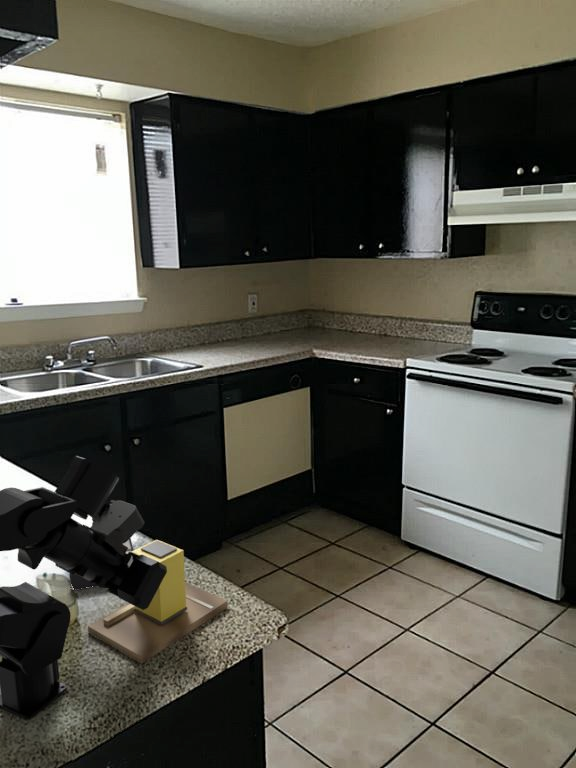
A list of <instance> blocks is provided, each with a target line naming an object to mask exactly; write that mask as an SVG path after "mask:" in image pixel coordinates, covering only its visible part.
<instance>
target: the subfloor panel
mask: <svg viewBox="0 0 576 768" xmlns="http://www.w3.org/2000/svg"><path fill="white" fill-rule="evenodd" d="M185 592H186V606H187V610H186V611H184V612H183V613H181V614H179V615H178V616H176V617H174V618H173V619H171V620H169V621H168V622H166V623H165V624H163V625H160V624H158V623H156V622H154V621H152V620H150V619H148V618H146V617H145V616H143V615H141V614H139V613H137V612H135V611H134V608H135V606H134V605H132V604H130V603H128V602H127V603H126V604H125V605H123V606H121V607H119V608H117V609H116V610H114V611H112V612H110V613H107V614H106V615H104V616H103V617H101V618H99V619H96V620H95V621H94V622H92V623H90V624H88V625H87V633H88V632H89V633H90V634H89V633H88V634H89V635H91V634H92V635H91V636H93V635H94V636H96V637H98V638H99V639H98V638H97V639H98V640H100V639H101V640H102V642H103V641H104V642H103V643H105V642H106V643H107V644H106V643H105V644H106V645H108V644H109V645H108V646H110V645H111V646H110V647H112V646H113V647H114V648H113V647H112V648H113V649H115V648H116V649H115V650H117V649H118V650H120V651H122V652H123V653H122V652H121V653H122V654H124V653H125V654H126V655H125V654H124V655H125V656H127V655H128V656H127V657H129V656H130V657H131V658H130V657H129V658H130V659H132V658H133V659H132V660H133V661H136V662H137V663H138V664H139V663H140V664H141V665H142V664H143V663H145V662H146V661H148V660H149V659H151V658H153V657H154V656H156V655H157V654H159V653H160V652H162V651H163V650H165V649H166V648H168V647H169V646H171V645H172V644H174V643H175V642H177V641H179V640H180V639H182V638H184V637H185V636H186V635H188V634H189V633H191V632H192V631H195V629H197V628H199V627H200V626H202V625H203V624H206V623H207V622H208V621H210V620H211V619H213V618H215V616H217V615H219V614H220V613H221V612H223V611H225V610H226V609H228V607H229V606H228V605H229V604H228V600H226V599H224V598H222V597H220V596H217V595H215V594H212V593H211V592H208V591H206V590H204V589H201V588H200V587H198V586H195V585H192V584H190V583H188V582H186V581H185ZM94 636H93V637H94ZM96 637H95V638H96ZM101 640H100V641H101ZM118 650H117V651H118ZM120 651H119V652H120ZM155 654H156V655H155Z"/></svg>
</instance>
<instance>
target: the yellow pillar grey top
mask: <svg viewBox="0 0 576 768" xmlns="http://www.w3.org/2000/svg"><path fill="white" fill-rule="evenodd" d="M131 552H132V553H134V554H136V555H138V556H140V555H144V556H147V557H149V558H151V559H154V560H156V561H158V562H160V563H161V564H163V565H165V566H166V568H167V573H166V575H165V577H164V578H163V580H162V582H161V584H160V586H159V588H158V590H157V592H156V594H155V595H154V597H153V599H152V601H151V603H150V605H149V607H148V608H146V609H145V610H142V609H140V608H138V607H136V606H135V608H134V611H135V612H137V613H139V614H141V615H143V616H145V617H146V618H148V619H150V620H152V621H154V622H156V623H158V624H160V625H163V624H165V623H166V622H168V621H169V620H171V619H173V618H174V617H176V616H178V615H179V614H181V613H183V612H184V611H186V610H187V606H186V592H185V582H186V574H185V571H186V570H185V553H184V549H181V548H179V547H176V546H174V545H171V544H169V543H166V542H164V541H161V540H158V539H155V540H152V541H151V542H149V543H146V544H145V545H142V546H140V547H138V548H136V549H134V551H131Z"/></svg>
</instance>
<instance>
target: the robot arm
mask: <svg viewBox="0 0 576 768" xmlns="http://www.w3.org/2000/svg"><path fill="white" fill-rule="evenodd" d="M119 480H120V477H118V476H117V474H115V473H114V472H112V471H111V470H110V469H109V470H108V469H105V468H104V467H101V466H99V465H97V464H95V463H93V462H92V461H90V460H88V459H87V458H84V457H81V456H78V455H75V456H74V457H73V459H72V460H71V463H70V464H69V467H68V469H67V471H66V473H65V474H64V476H63V478H62V479H61V481H60V483H59V484H58V486H57V487H56V489H55V491H53V490H51V489H47V488H46V487H42V486H41V487H37V488H32V489H28V490H22V489H19V488H17V487H6V488H3V489H0V552H8V551H9V552H10V551H14V550H18V552H17V562H19V563H20V564H22V565H24V566H26V567H28V568H30V569H31V570H36V569H38V567H39V566H40V564H41V562H42V560H43V559H44V558H45V559H46V560H49V561H51V562H53V563H55V567H57V568H59V569H61V570H63V571H65V572H67V573H69V574H70V573H71V574H73V575H75V574H77V575H79V576H81V577H83V578H85V579H87V580H89V582H90V583H92V584H94V585H96V586H98V588H100V589H107V590H106V591H107V592H108V593H110V594H112V595H113V596H116V597H117V598H119V599H120V600H122V601H125V602H126V603H127V604H128V603H130V604H132V605H134V606H136V607H138V608H140V609H142V610H145V609H146V608H148V607H149V605H150V603H151V601H152V599H153V597H154V595H155V594H156V592H157V590H158V588H159V586H160V584H161V582H162V580H163V578H164V577H165V575H166V573H167V568H166V566H165V565H163V564H161V563H160V562H158V561H156V560H154V559H151V558H149V557H147V556H144V555H140V556H138V555H136V554H134V553H132V552H129V553H128V554H126V551H127V549H128V547H126V546H125V545H123V543H125V542H127V541H128V540H129V539H130V538H132V537H133V536H134V535H135V534H136V533H137V532H138V531H139V530H141V529H142V528H143V527H144V525H145V520H144V519H143V518H142V515H141V514H140V512H139V510H138V507H137V506H136V505H134V504H132V503H128V502H126V501H123V500H119V499H117V500H113V499H111V500H110V501H109V502H110V503H107V500H108V498H109V497H110V495H111V493H112V492H113V490H114V489H115V487H116V485H117V484H118V482H119ZM73 515H75V516H77V517H79V518H81V519H83V520H87V519H88V517H91V520H92V522H91V526H90V527H89V526H87V525H86V524H82V523H80V522H79V521H77V520H75V519H73V518H72V517H73ZM70 622H71V611H70V608H69V607H68V605H67V604H66V603H64V602H63V601H60V599H59V600H58V599H57V598H55V597H53V596H51V595H50V594H48V593H46V592H44V591H43V590H41V589H39V588H38V587H35V586H34V585H32V584H30V583H29V582H26V581H24V582H23V583H21V584H19V585H15V586H0V657H2V658H1V661H0V708H1V709H2V710H5V711H7V712H10V713H11V714H13V715H16V716H18V717H19V718H22V719H24V720H30V719H33V718H34V717H35V716H36V715H37V714H39V713H40V712H41V711H43V710H44V709H45V708H47V706H49V705H50V704H51V703H53V702H54V701H55V700H56V699H58V698H59V697H60V696H62V694H64V693H65V692H66V691H67V690H68V686H67V684H65V683H62V682H60V681H59V680H60V669H59V660H60V659H61V658H62V657H63V652H64V646H65V642H66V639H67V634H68V629H69V626H70Z"/></svg>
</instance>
